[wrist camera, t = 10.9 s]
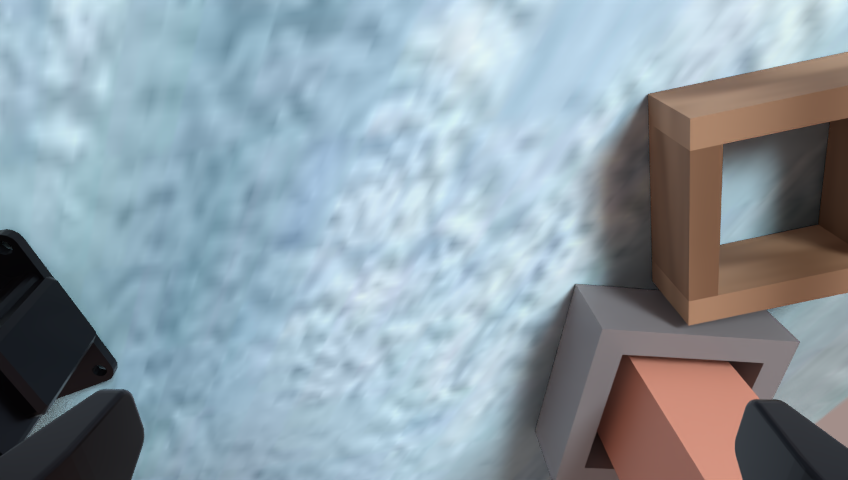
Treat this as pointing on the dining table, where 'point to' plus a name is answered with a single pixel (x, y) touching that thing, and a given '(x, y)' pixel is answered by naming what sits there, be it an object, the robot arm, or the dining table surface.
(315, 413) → the dining table surface
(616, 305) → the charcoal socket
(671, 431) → the peg
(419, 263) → the dining table surface
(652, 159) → the walnut socket
